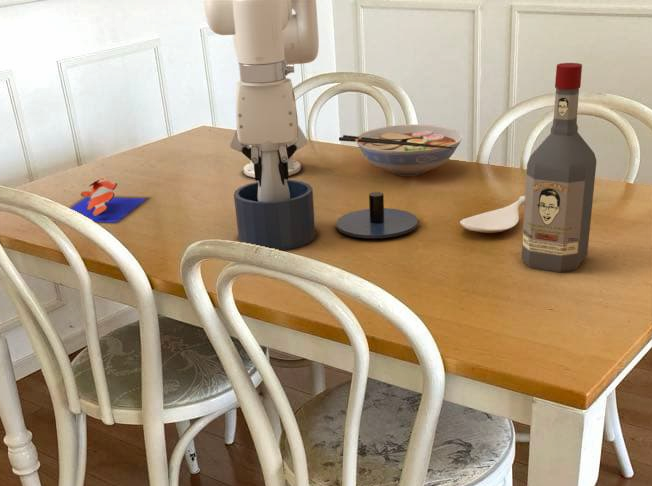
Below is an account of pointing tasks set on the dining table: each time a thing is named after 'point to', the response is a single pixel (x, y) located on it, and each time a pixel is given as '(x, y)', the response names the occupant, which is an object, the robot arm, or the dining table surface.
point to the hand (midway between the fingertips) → (272, 183)
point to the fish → (105, 203)
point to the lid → (377, 220)
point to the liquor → (560, 185)
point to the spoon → (495, 219)
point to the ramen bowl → (407, 147)
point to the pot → (276, 217)
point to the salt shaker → (271, 175)
